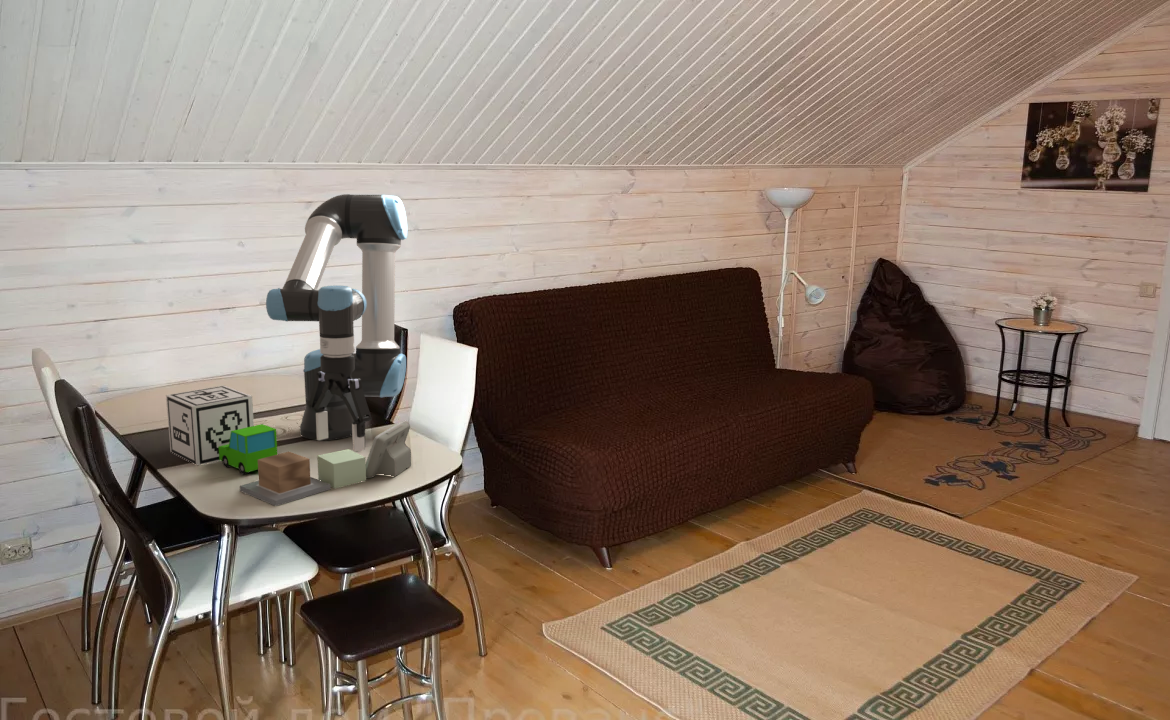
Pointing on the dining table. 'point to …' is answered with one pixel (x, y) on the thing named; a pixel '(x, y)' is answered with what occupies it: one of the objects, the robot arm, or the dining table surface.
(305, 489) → the plate
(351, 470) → the green block
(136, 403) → the dining table surface
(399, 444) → the digital clock
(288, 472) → the walnut block
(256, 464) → the toy car
